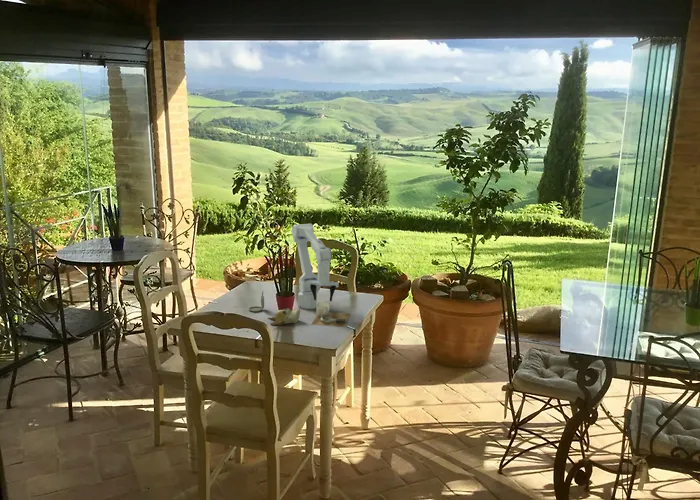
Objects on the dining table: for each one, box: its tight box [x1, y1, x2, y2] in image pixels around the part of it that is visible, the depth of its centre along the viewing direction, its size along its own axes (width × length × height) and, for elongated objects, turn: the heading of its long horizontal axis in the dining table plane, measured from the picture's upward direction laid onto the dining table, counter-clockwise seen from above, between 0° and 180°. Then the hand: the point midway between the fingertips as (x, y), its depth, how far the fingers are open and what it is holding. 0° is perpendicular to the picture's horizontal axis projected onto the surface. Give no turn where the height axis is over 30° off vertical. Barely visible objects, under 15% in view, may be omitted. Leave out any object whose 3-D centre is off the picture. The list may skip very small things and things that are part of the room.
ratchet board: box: [311, 311, 351, 328], centre depth 278 cm, size 16×19×6 cm
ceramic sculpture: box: [267, 307, 301, 327], centre depth 272 cm, size 11×9×15 cm
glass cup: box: [248, 291, 265, 313], centre depth 291 cm, size 8×8×10 cm
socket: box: [315, 302, 330, 317], centre depth 282 cm, size 5×5×6 cm
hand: (323, 300), depth 281 cm, fingers open, 7 cm apart
